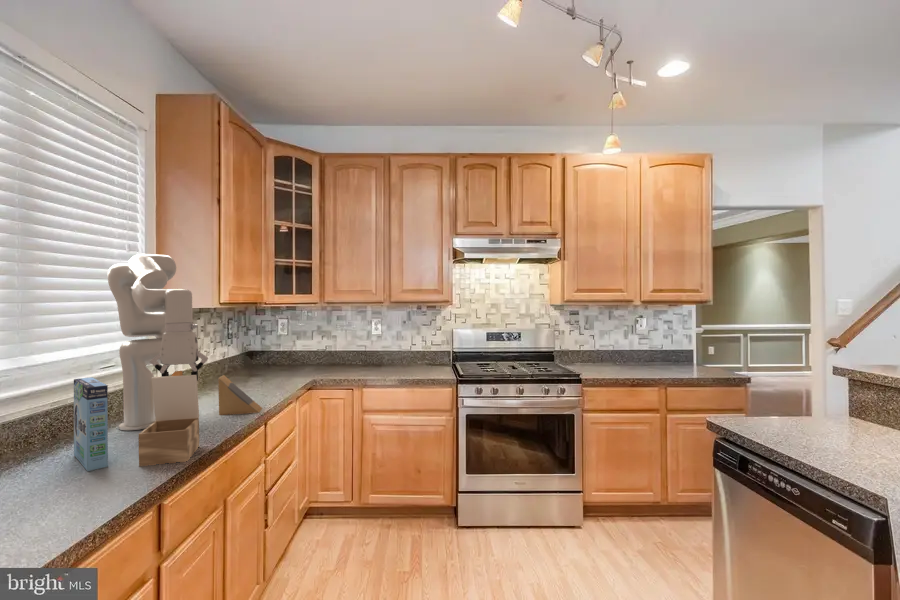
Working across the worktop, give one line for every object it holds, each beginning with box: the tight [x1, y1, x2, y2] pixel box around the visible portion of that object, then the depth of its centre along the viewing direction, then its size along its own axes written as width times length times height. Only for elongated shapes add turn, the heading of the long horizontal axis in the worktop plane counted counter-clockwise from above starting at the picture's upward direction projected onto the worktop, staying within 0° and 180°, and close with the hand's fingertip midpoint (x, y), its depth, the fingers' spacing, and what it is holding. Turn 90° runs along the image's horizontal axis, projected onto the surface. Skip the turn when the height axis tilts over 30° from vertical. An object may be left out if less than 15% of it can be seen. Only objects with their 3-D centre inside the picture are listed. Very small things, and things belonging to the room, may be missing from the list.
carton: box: [137, 417, 200, 467], centre depth 138 cm, size 14×12×9 cm
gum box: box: [73, 376, 109, 473], centre depth 134 cm, size 20×5×23 cm, turn 47°
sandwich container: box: [217, 374, 263, 416], centre depth 191 cm, size 9×15×15 cm, turn 103°
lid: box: [152, 370, 200, 421], centre depth 146 cm, size 14×12×5 cm
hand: (180, 383), depth 148 cm, fingers open, 7 cm apart
